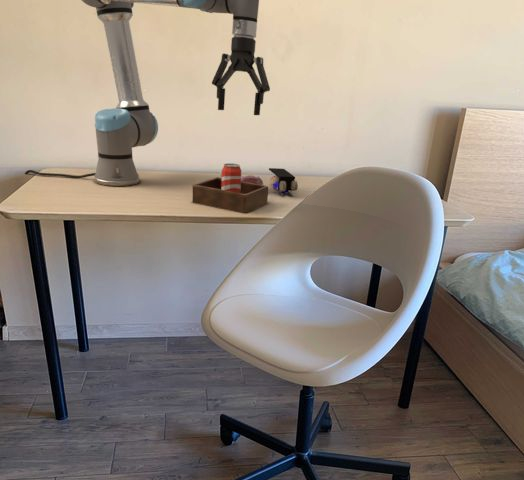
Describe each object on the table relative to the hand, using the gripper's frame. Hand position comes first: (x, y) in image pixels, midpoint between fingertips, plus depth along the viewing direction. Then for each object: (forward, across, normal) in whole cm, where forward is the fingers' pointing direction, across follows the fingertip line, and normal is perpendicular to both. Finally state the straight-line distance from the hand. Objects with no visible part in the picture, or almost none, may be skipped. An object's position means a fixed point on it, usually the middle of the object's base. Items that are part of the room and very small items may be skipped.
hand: (238, 112), depth 168 cm
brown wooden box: (+26, +6, -12) cm, 30 cm away
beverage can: (+27, +6, -12) cm, 30 cm away
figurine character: (+25, +13, +13) cm, 31 cm away
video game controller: (+26, +3, +6) cm, 27 cm away
